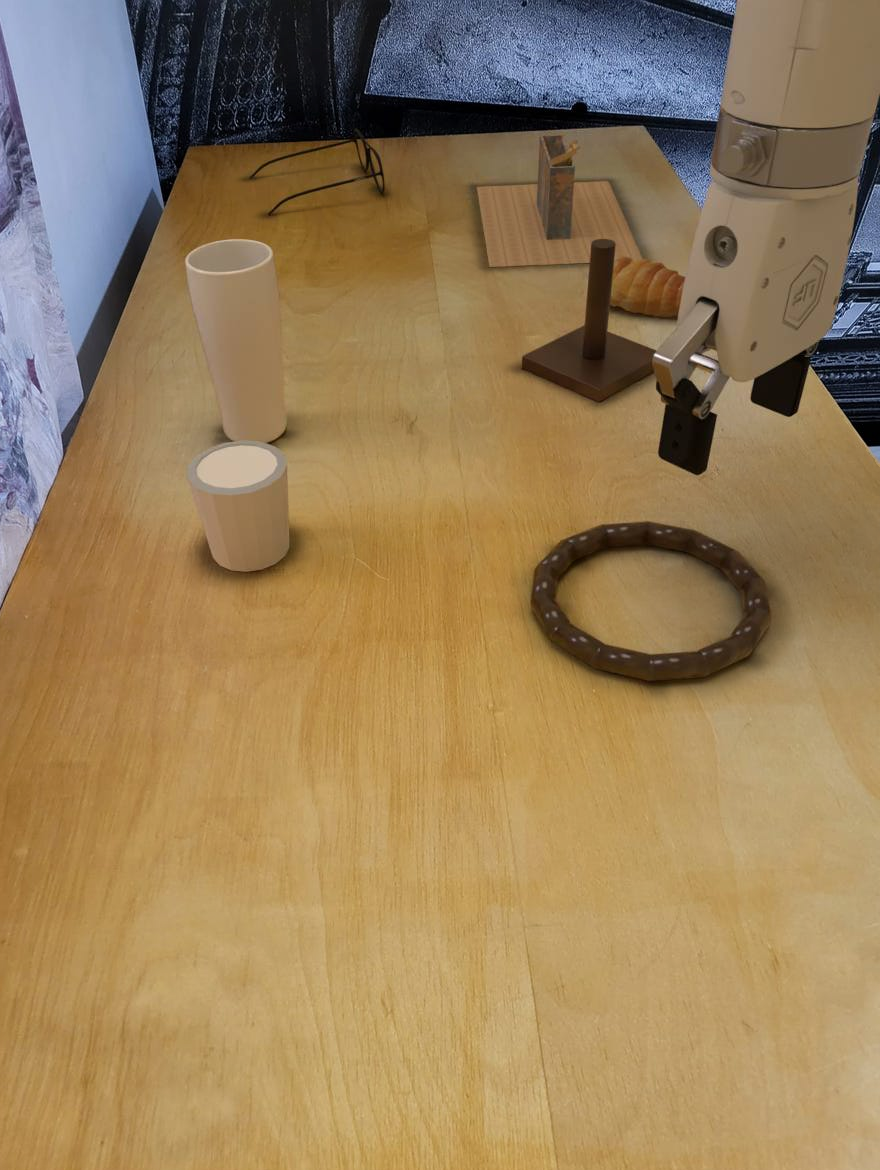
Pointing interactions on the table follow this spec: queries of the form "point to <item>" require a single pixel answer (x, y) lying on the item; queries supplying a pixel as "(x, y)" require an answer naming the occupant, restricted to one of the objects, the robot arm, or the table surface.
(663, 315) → the pastry
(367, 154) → the glasses
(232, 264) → the drinking glass
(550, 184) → the architectural model on board
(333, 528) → the table surface
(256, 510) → the beige short cylinder
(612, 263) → the post
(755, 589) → the ring
